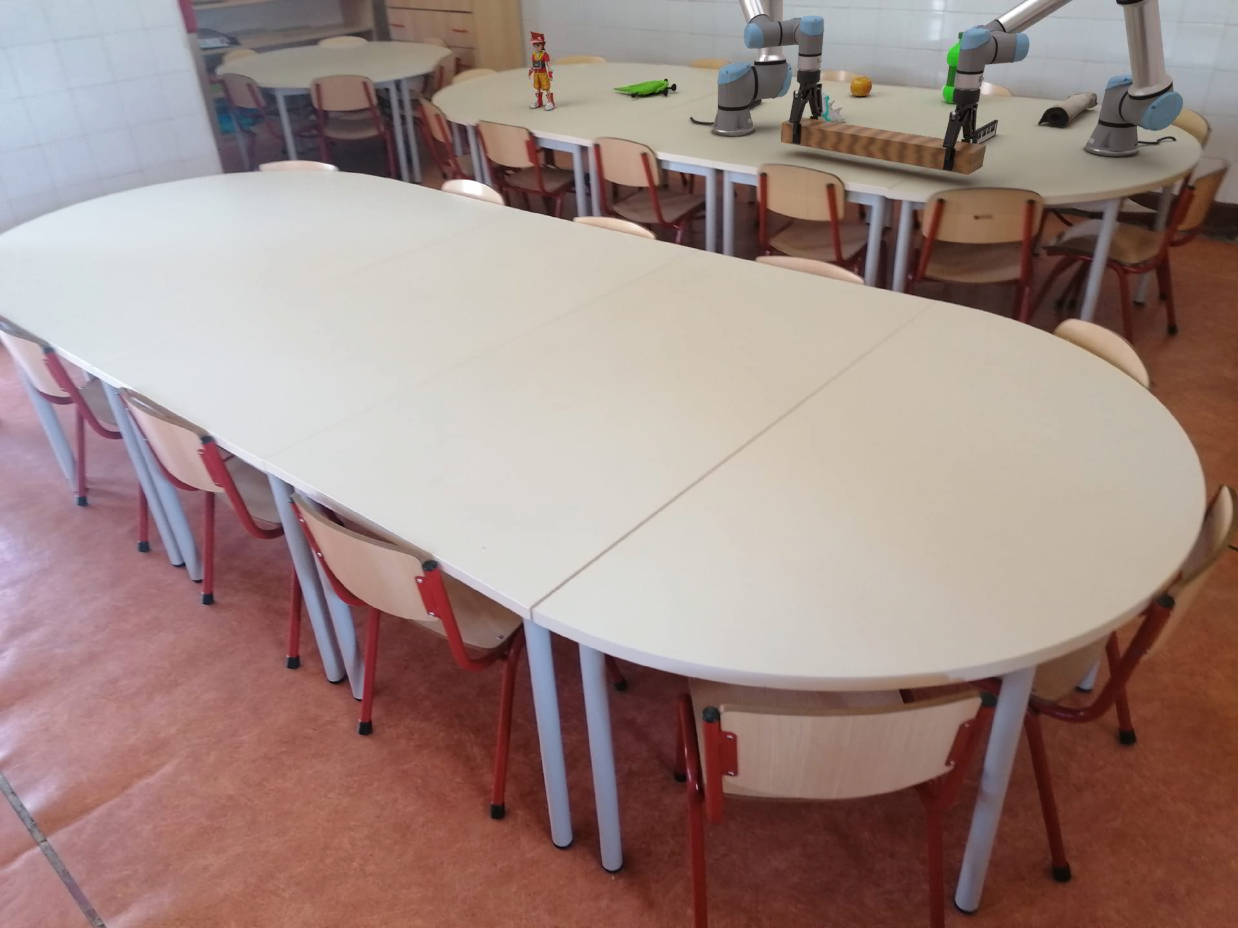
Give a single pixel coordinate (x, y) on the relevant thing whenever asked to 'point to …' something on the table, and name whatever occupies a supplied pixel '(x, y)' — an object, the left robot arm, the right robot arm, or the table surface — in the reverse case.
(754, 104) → the disk drive
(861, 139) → the wide beam
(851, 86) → the fruit
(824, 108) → the anatomical model
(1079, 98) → the rolled mat
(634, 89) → the toy
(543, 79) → the toy
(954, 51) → the plastic bottle
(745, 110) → the left robot arm
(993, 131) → the midi keyboard
